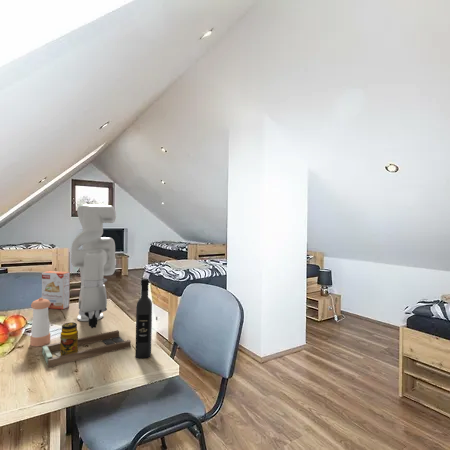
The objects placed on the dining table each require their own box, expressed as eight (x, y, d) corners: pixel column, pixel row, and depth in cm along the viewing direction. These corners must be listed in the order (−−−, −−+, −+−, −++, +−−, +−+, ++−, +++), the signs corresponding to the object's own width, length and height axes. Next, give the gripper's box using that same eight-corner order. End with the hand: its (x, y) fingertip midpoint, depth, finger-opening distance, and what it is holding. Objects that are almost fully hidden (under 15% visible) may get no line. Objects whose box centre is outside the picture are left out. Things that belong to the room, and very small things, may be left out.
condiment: (63, 360, 115) (64, 328, 115) (54, 353, 121) (54, 323, 120) (83, 354, 121) (83, 323, 121) (73, 348, 126) (73, 318, 126)
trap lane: (41, 352, 122) (41, 344, 121) (117, 335, 140) (117, 329, 140) (48, 367, 110) (48, 359, 110) (130, 347, 129) (130, 339, 128)
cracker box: (40, 308, 178) (41, 272, 178) (48, 305, 184) (48, 270, 184) (62, 310, 176) (63, 273, 175) (69, 307, 182) (70, 271, 181)
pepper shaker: (38, 347, 126) (39, 300, 125) (26, 344, 128) (26, 298, 128) (54, 341, 133) (54, 296, 132) (41, 338, 135) (42, 294, 135)
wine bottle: (150, 358, 119) (151, 280, 118) (135, 359, 118) (136, 280, 117) (151, 352, 124) (152, 277, 124) (136, 352, 123) (138, 277, 123)
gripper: (109, 278, 133) (108, 320, 135) (71, 283, 124) (70, 327, 125) (115, 282, 128) (114, 326, 129) (75, 287, 118) (75, 334, 120)
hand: (92, 326), depth 127 cm, fingers closed
